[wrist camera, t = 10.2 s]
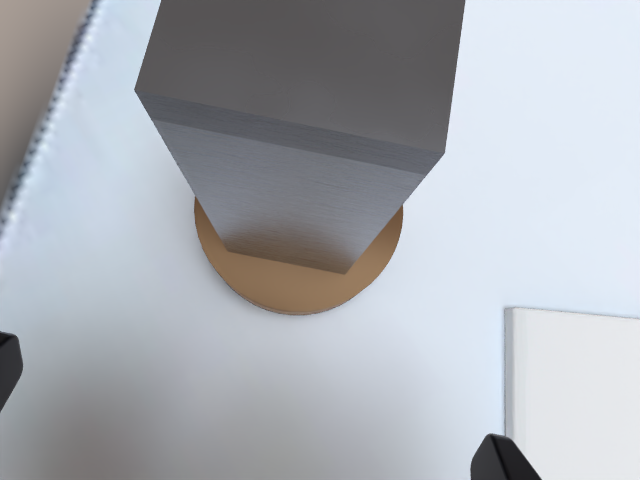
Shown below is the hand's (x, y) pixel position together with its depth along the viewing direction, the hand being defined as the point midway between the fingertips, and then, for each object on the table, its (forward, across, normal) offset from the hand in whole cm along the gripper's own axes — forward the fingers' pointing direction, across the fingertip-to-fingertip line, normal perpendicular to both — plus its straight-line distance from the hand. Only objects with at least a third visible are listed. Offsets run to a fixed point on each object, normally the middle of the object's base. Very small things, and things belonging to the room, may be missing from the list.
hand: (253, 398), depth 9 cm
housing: (+12, 0, +2) cm, 13 cm away
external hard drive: (+10, -15, +10) cm, 21 cm away
